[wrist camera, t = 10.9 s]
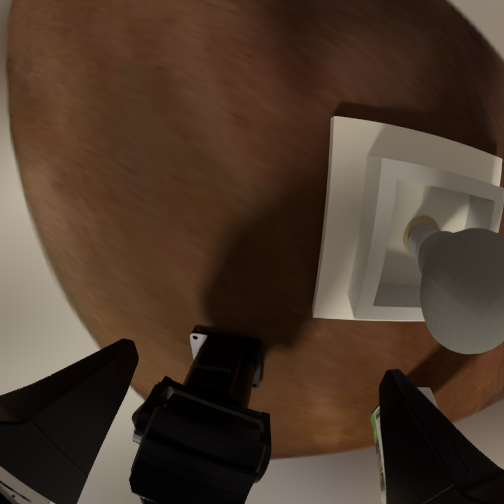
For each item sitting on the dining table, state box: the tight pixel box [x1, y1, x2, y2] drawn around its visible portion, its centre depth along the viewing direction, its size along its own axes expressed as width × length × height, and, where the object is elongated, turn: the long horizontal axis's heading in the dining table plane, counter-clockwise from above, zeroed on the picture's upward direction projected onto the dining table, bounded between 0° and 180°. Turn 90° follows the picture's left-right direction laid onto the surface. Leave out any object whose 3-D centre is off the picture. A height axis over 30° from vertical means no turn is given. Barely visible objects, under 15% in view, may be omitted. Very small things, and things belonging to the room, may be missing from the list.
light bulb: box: [407, 223, 504, 354], centre depth 11 cm, size 6×6×10 cm
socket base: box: [312, 116, 504, 321], centre depth 15 cm, size 14×14×4 cm
